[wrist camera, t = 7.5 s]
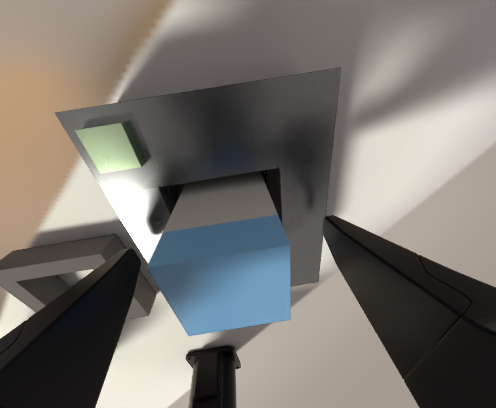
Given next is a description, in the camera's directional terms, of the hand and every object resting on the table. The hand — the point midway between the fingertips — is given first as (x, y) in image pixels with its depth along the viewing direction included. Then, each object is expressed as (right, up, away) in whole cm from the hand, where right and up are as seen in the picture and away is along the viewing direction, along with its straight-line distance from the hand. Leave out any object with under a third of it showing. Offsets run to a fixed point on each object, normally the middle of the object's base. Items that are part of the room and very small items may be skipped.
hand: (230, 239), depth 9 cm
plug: (0, +3, +4) cm, 5 cm away
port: (0, +3, +4) cm, 5 cm away
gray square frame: (-13, -5, +7) cm, 15 cm away
